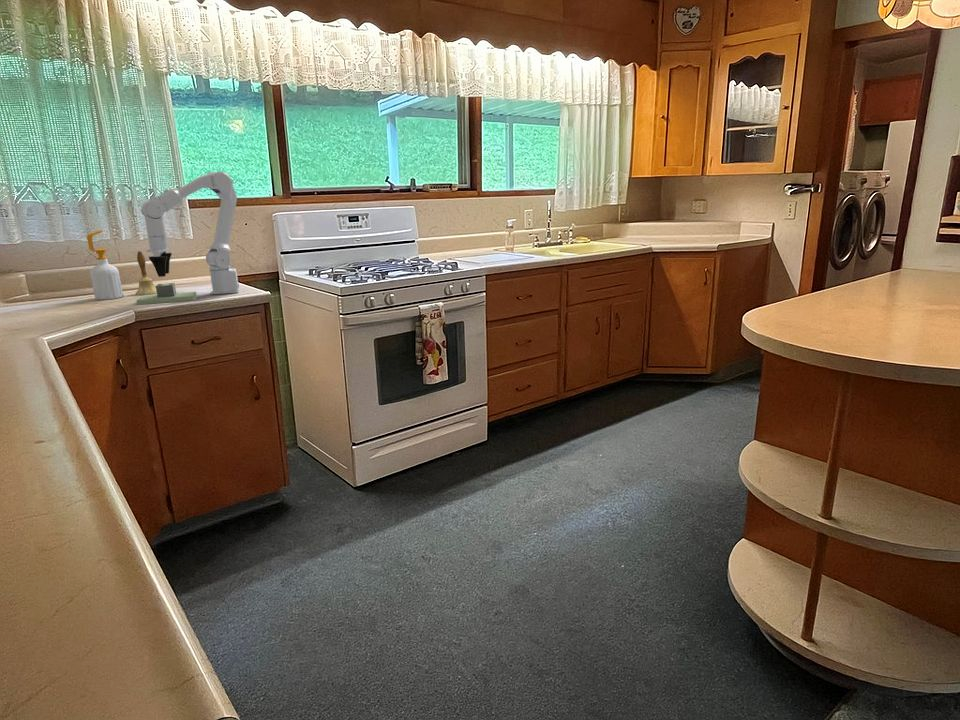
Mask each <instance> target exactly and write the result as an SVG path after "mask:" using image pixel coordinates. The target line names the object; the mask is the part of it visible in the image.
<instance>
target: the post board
mask: <svg viewBox="0 0 960 720" xmlns="http://www.w3.org/2000/svg"><path fill="white" fill-rule="evenodd" d="M161 284H162V285H159V286H163V285H170V284H168V283H161ZM197 296H198V295H197V291H187V292H176V295H175V296H173V297H159V298H158V297H157V293H156V294H150V295H140V296H139V297H138V298H137V299H136V304H137V305H146V304H147V305H148V304H161V303H163V304H164V303H173V302H186V301H187V300H189V301H194V300H195V299H196V298H197ZM187 302H188V301H187Z"/></svg>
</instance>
